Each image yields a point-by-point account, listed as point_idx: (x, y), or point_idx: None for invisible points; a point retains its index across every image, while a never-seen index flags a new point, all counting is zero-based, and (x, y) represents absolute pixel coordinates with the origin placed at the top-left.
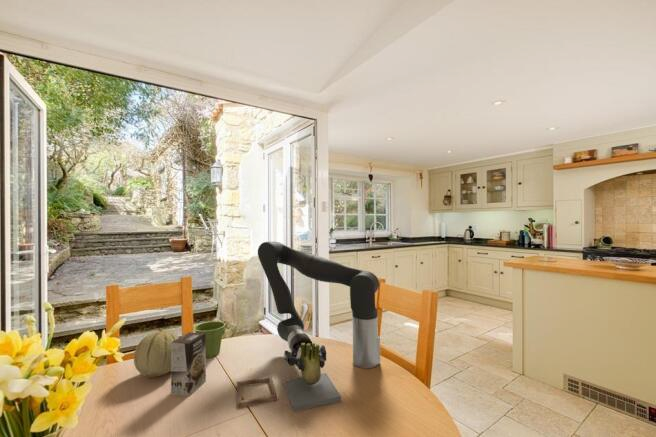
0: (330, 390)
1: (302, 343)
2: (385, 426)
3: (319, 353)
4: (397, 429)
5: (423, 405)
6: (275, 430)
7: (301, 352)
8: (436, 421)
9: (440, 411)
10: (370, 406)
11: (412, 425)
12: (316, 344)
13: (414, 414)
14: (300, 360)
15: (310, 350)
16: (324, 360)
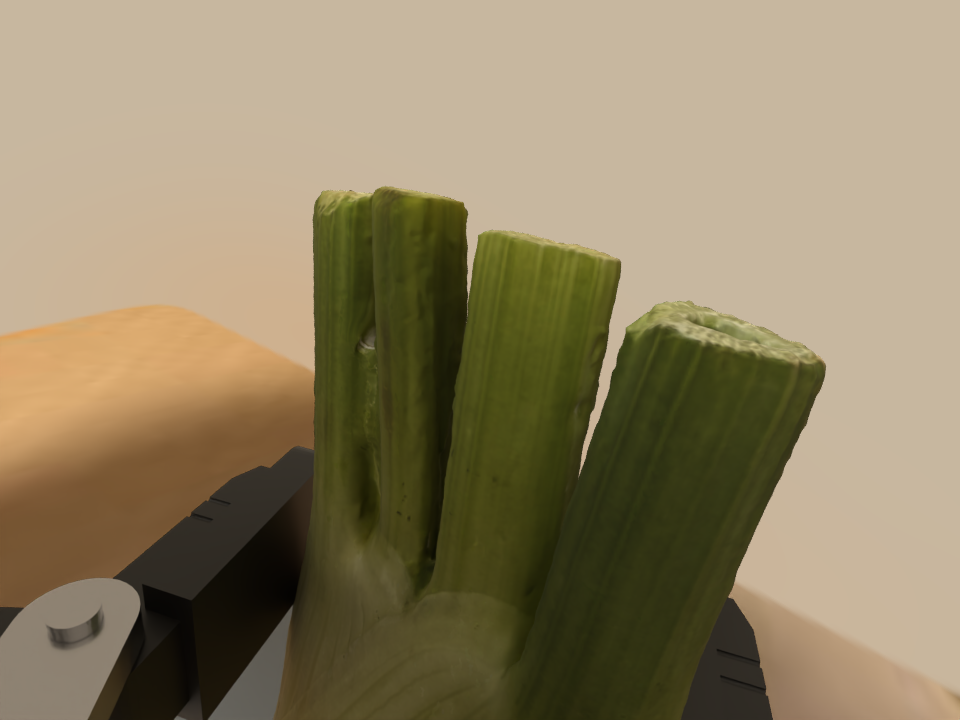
0: (254, 697)
1: (756, 344)
2: (304, 388)
3: (58, 624)
4: (287, 366)
5: (27, 358)
6: (865, 653)
7: (700, 632)
8: (140, 323)
9: (50, 326)
10: (195, 471)
11: (223, 350)
12: (368, 195)
13: (136, 360)
14: (702, 675)
15: (462, 423)
16: (241, 474)
